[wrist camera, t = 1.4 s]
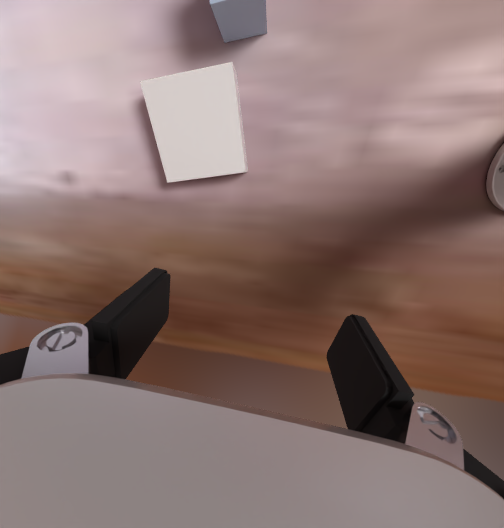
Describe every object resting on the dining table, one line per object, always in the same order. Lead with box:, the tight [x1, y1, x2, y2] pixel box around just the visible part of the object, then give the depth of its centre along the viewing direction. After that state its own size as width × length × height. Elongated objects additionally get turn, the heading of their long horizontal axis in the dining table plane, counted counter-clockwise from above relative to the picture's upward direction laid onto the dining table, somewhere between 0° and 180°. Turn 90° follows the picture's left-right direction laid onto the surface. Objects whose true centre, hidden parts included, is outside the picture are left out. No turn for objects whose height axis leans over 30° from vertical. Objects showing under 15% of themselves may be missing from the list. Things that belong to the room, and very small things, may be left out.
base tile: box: [140, 62, 248, 183], centre depth 26 cm, size 11×11×3 cm
